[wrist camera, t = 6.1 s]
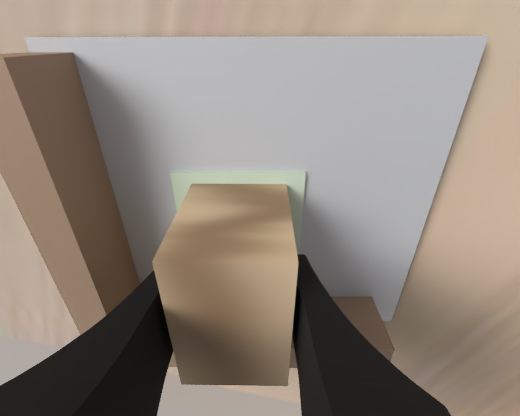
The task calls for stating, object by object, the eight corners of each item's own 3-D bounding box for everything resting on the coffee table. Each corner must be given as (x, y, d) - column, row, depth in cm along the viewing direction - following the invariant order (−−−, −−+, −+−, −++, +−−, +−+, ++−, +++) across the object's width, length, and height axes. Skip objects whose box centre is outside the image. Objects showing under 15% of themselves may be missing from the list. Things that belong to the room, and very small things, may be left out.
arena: (480, 35, 10) (576, 35, 7) (388, 315, 17) (415, 374, 14) (32, 37, 10) (-67, 37, 7) (127, 313, 17) (99, 371, 14)
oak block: (286, 184, 12) (298, 262, 8) (280, 287, 15) (287, 386, 11) (191, 183, 12) (152, 261, 8) (204, 286, 15) (181, 384, 11)
